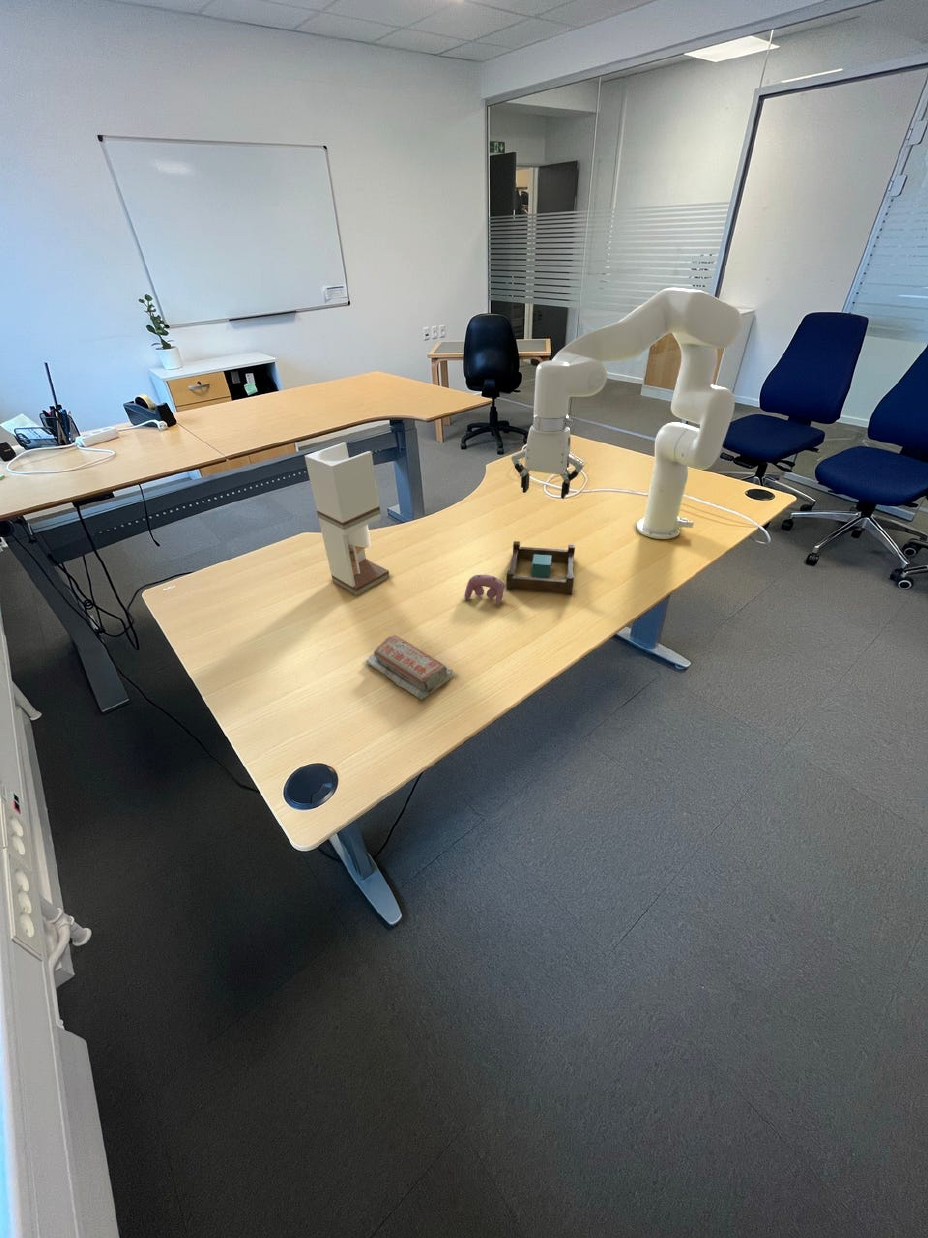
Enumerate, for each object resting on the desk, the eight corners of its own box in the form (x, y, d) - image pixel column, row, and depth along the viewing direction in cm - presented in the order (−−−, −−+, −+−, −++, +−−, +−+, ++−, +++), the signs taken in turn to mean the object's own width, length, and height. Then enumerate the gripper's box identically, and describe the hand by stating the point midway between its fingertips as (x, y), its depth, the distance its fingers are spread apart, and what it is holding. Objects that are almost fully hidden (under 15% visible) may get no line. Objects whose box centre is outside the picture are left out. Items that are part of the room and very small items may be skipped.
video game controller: (503, 604, 134) (507, 577, 132) (499, 606, 129) (503, 579, 128) (467, 597, 136) (470, 571, 135) (462, 600, 132) (465, 573, 130)
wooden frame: (573, 560, 146) (575, 544, 143) (571, 594, 133) (573, 578, 130) (513, 556, 149) (513, 541, 146) (506, 589, 136) (506, 573, 133)
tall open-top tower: (356, 595, 136) (331, 466, 115) (332, 580, 142) (304, 455, 121) (389, 576, 143) (371, 451, 121) (365, 563, 148) (343, 442, 127)
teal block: (550, 570, 143) (551, 555, 140) (549, 580, 139) (550, 564, 136) (532, 569, 143) (533, 554, 140) (531, 578, 140) (532, 563, 137)
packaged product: (454, 659, 108) (420, 686, 102) (455, 676, 111) (422, 702, 105) (396, 625, 118) (362, 647, 112) (399, 641, 121) (365, 663, 115)
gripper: (591, 421, 117) (582, 492, 127) (518, 413, 122) (515, 482, 133) (584, 431, 111) (575, 505, 122) (507, 423, 117) (506, 494, 127)
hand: (544, 493), depth 127 cm, fingers open, 9 cm apart
